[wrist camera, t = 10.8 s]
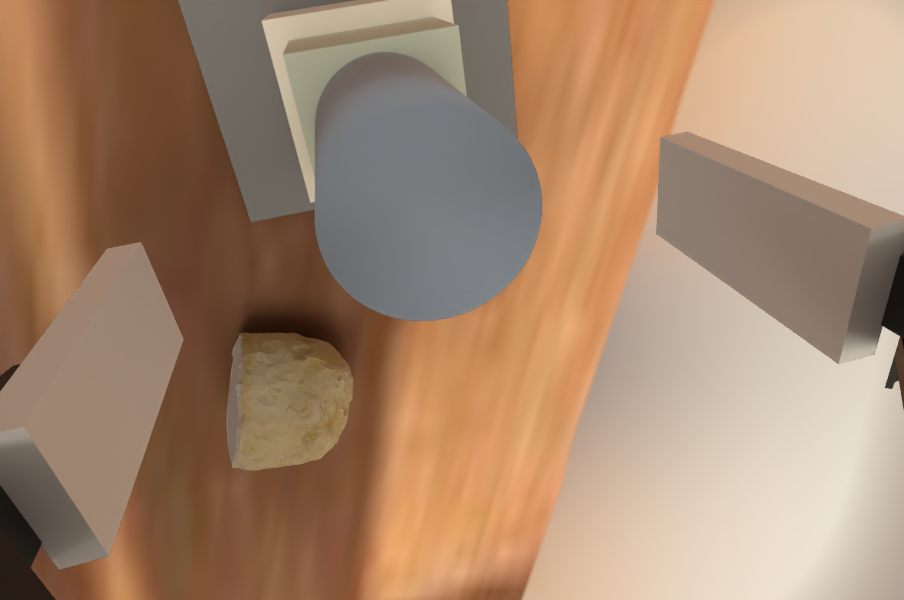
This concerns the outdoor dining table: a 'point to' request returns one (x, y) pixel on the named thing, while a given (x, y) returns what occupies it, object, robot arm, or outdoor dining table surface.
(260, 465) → the beige rounded lump
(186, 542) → the outdoor dining table surface
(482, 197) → the grey rounded cylinder
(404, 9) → the tower base
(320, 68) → the tower top
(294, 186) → the mat
